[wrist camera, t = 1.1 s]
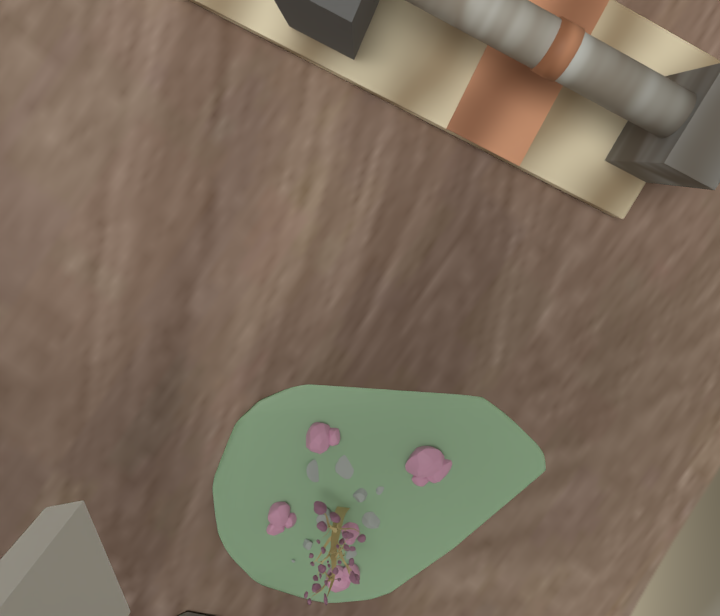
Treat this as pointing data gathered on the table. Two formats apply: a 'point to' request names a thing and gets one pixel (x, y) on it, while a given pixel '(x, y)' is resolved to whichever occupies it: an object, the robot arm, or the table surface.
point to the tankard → (191, 614)
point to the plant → (362, 485)
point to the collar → (331, 21)
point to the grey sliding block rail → (535, 86)
